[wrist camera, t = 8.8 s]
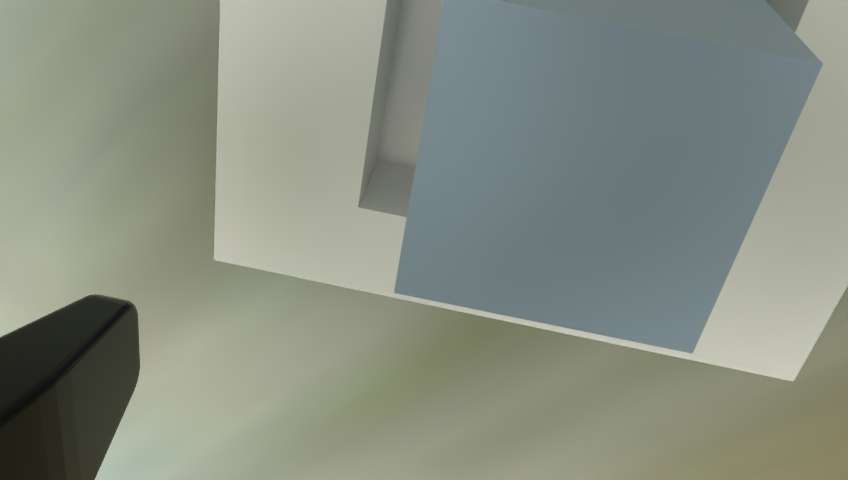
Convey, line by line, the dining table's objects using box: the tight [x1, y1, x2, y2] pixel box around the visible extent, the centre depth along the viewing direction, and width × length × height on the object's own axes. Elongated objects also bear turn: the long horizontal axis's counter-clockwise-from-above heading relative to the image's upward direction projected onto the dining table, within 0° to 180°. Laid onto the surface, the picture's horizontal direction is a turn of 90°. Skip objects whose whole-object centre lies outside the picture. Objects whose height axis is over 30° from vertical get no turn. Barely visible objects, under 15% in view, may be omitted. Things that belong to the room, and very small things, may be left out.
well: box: [214, 0, 848, 382], centre depth 17 cm, size 14×12×3 cm
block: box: [394, 0, 823, 354], centre depth 15 cm, size 5×5×7 cm
